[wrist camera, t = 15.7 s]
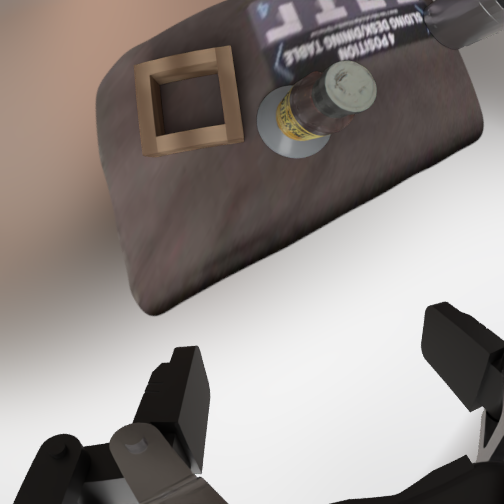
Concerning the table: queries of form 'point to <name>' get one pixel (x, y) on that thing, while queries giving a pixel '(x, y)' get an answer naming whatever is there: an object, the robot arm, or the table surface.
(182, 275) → the table surface
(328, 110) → the sauce bottle
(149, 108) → the walnut holder
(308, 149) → the slate coaster
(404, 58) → the table surface
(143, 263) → the table surface
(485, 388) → the robot arm
